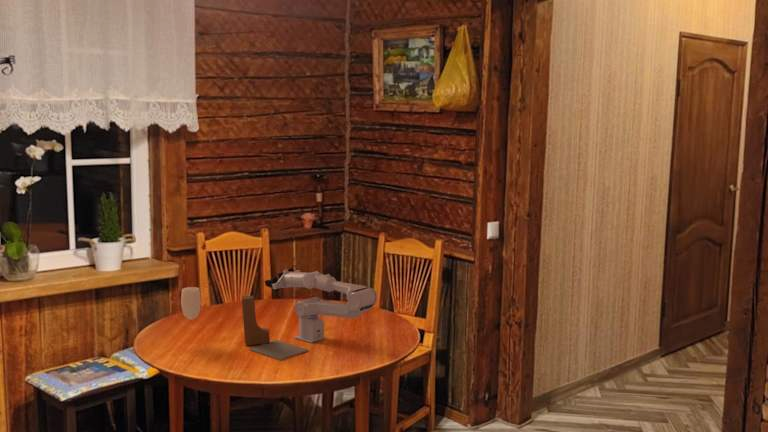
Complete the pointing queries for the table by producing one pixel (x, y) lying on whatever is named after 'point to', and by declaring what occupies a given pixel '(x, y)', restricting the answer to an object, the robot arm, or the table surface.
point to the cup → (191, 302)
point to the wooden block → (252, 324)
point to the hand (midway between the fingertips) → (272, 279)
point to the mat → (278, 350)
